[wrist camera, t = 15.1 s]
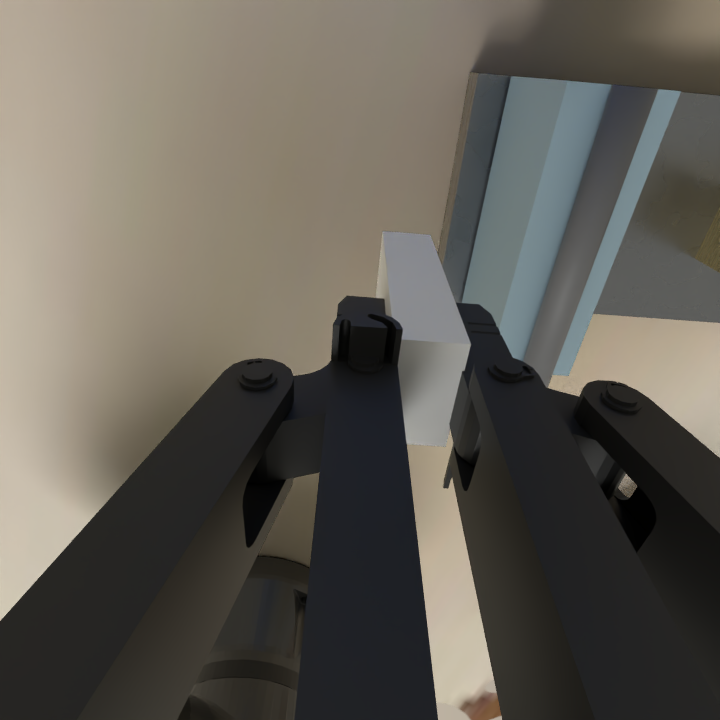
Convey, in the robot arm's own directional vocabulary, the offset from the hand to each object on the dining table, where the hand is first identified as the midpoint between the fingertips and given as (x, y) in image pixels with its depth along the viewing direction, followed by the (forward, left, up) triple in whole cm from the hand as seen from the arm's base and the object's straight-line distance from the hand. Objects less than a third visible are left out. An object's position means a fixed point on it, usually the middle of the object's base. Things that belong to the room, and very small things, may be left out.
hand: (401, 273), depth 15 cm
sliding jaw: (+7, 0, -11) cm, 13 cm away
